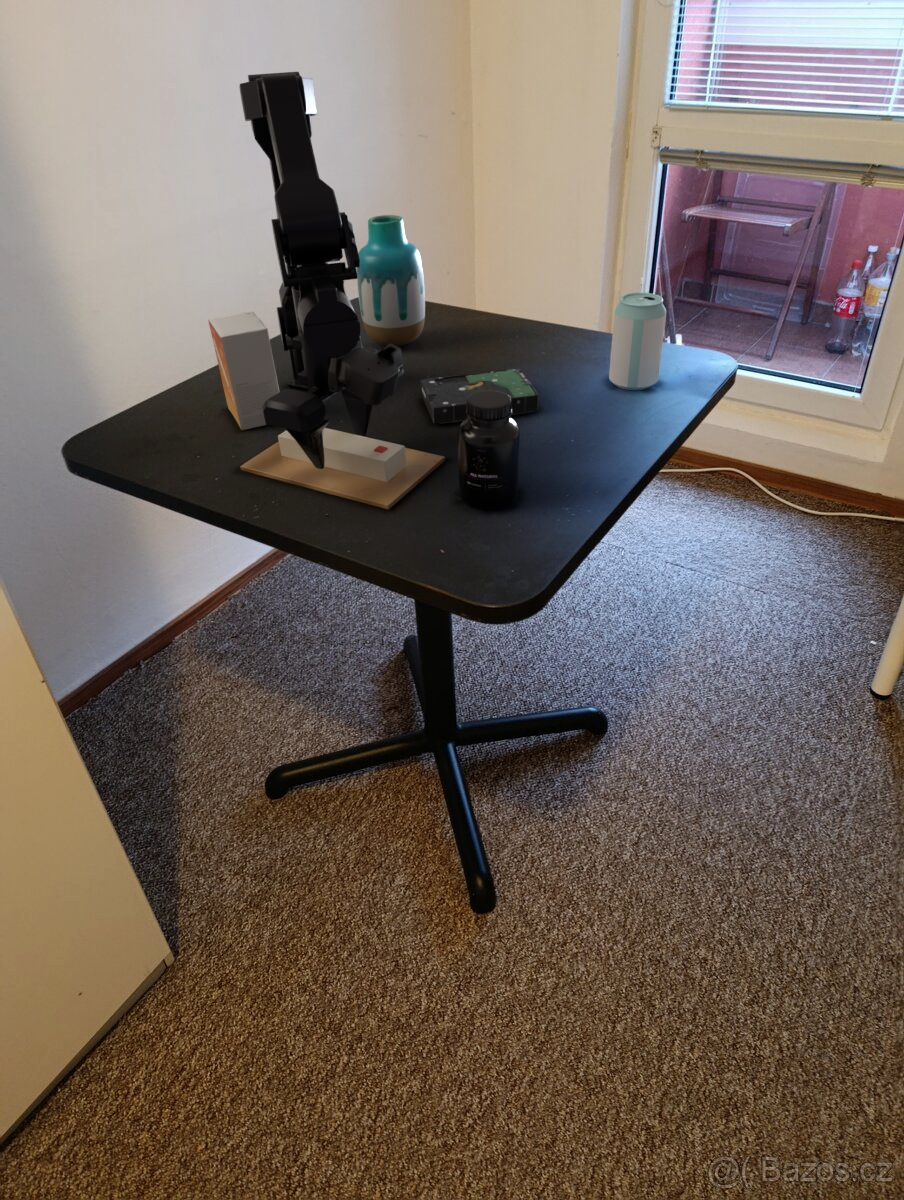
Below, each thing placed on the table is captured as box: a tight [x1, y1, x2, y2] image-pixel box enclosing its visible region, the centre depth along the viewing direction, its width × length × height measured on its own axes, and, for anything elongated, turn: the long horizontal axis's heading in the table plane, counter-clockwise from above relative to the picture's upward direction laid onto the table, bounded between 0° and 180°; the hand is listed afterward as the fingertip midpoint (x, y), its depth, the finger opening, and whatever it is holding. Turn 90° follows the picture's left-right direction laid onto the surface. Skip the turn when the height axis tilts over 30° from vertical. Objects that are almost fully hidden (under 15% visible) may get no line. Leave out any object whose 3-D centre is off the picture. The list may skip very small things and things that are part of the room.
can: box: [608, 291, 667, 391], centre depth 113 cm, size 7×7×12 cm
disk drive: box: [420, 368, 540, 425], centre depth 112 cm, size 10×3×15 cm
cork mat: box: [239, 440, 446, 510], centre depth 100 cm, size 22×13×1 cm, turn 61°
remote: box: [277, 427, 406, 482], centre depth 99 cm, size 16×4×3 cm, turn 61°
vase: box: [356, 214, 426, 347], centre depth 128 cm, size 11×11×19 cm
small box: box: [207, 311, 280, 431], centre depth 109 cm, size 8×6×13 cm
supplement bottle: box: [457, 391, 521, 511], centre depth 89 cm, size 7×7×12 cm
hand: (341, 452), depth 99 cm, fingers open, 8 cm apart
